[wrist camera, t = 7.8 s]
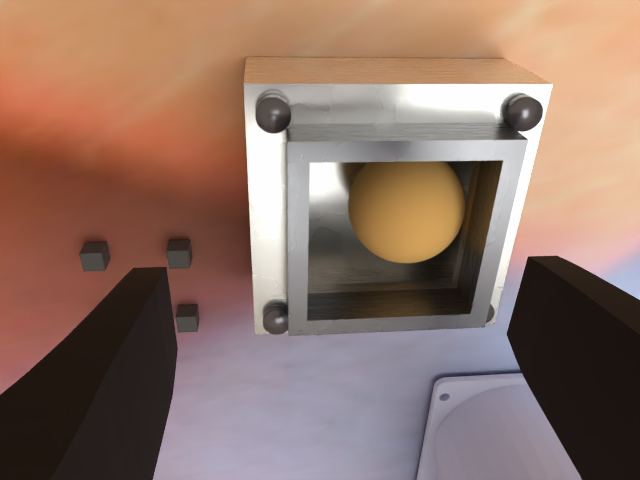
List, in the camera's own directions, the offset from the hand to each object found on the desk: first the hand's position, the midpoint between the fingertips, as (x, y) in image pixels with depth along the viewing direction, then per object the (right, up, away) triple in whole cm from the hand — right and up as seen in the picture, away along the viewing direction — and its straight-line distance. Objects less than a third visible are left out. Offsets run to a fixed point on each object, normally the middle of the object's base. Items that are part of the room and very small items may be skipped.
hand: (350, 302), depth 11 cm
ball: (+1, +3, +9) cm, 10 cm away
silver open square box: (+1, +4, +10) cm, 10 cm away
